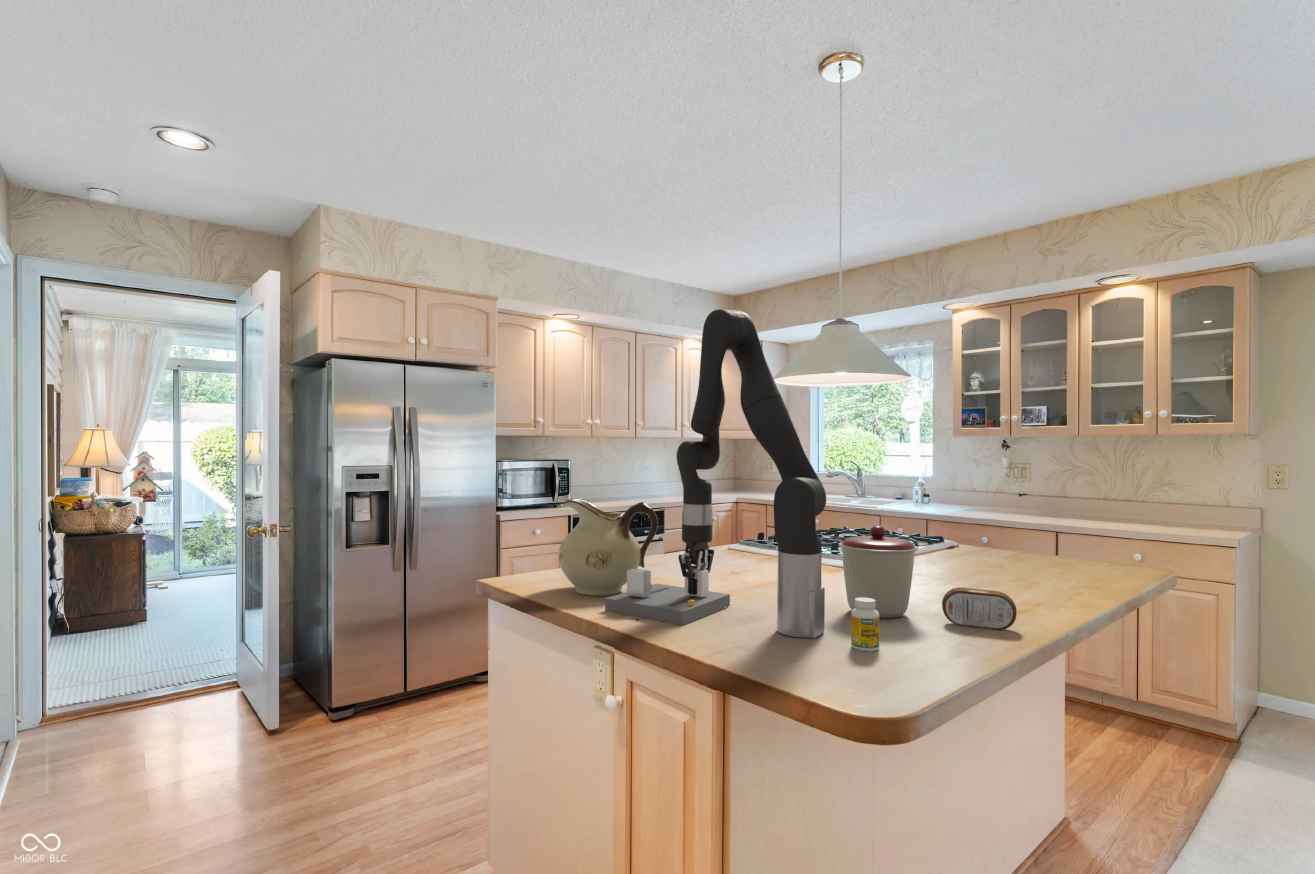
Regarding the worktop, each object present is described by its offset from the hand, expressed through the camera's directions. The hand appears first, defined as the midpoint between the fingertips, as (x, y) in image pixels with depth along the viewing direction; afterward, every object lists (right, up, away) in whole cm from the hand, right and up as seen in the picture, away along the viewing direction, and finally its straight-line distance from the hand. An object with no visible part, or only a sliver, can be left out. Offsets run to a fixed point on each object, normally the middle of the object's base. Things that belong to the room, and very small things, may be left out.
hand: (696, 592), depth 162 cm
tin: (+62, -5, -14) cm, 64 cm away
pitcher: (-25, -4, +19) cm, 32 cm away
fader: (0, -1, 0) cm, 1 cm away
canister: (+43, -5, -3) cm, 44 cm away
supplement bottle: (+32, -4, -31) cm, 44 cm away
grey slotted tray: (-7, -4, 0) cm, 8 cm away
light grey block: (-14, 0, -1) cm, 14 cm away
